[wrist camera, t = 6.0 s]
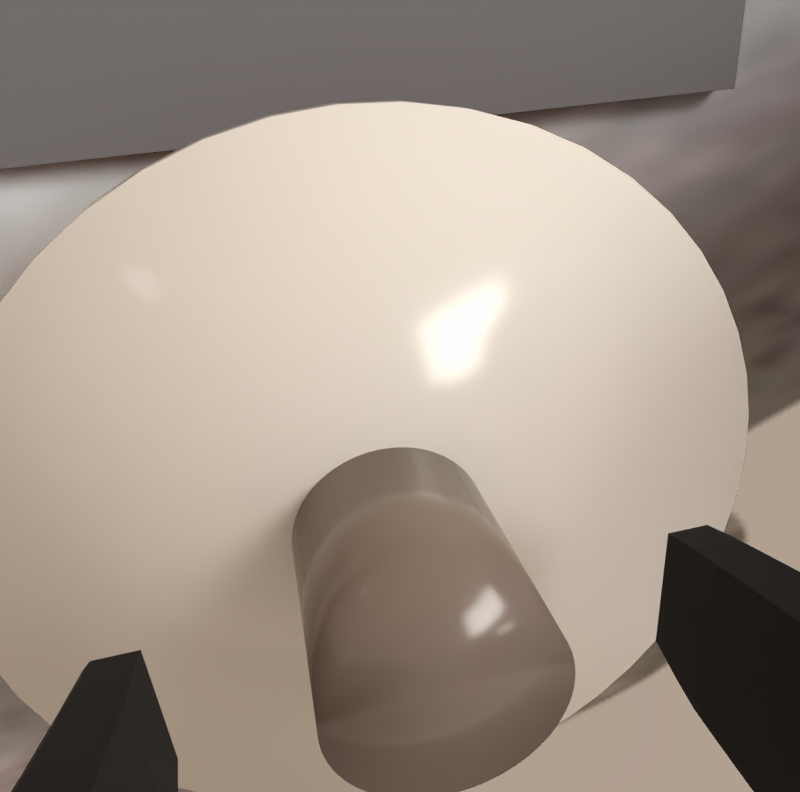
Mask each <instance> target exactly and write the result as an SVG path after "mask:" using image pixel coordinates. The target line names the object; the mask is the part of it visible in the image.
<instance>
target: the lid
mask: <svg viewBox="0 0 800 792" xmlns="http://www.w3.org/2000/svg"><path fill="white" fill-rule="evenodd" d="M748 420H749V408H748V387H747V372H746V367H745V362H744V357H743V352H742V347H741V342H740V337H739V332H738V329H737V326H736V324H735V321H734V318H733V316H732V313H731V310H730V307H729V305H728V302H727V299H726V296H725V294H724V291H723V289H722V287H721V285H720V284H719V282H718V280H717V278H716V276H715V275H714V273H713V271H712V269H711V268H710V266H709V264H708V262H707V260H706V259H705V257H704V255H703V253H702V251H701V250H700V249H699V247H698V246H697V245H696V244H695V242H694V241H693V240H692V239H691V237H690V236H689V235H688V234H687V232H686V231H685V230H684V229H683V227H682V226H681V225H680V224H679V222H678V221H677V220H676V219H675V217H674V216H673V215H672V214H671V212H670V211H669V210H667V209H666V208H665V207H664V206H663V205H662V204H661V203H660V202H659V201H657V200H656V199H655V198H654V197H653V196H652V195H651V194H650V193H648V192H647V191H646V190H645V189H644V188H643V187H642V186H641V185H640V184H638V183H637V182H636V181H635V180H634V179H633V178H632V177H630V176H629V175H627V174H625V173H624V172H622V171H621V170H619V169H618V168H616V167H614V166H613V165H611V164H610V163H608V162H607V161H605V160H604V159H602V158H600V157H599V156H597V155H596V154H594V153H593V152H591V151H589V150H588V149H586V148H584V147H582V146H580V145H577V144H575V143H573V142H570V141H568V140H566V139H563V138H561V137H559V136H557V135H554V134H552V133H550V132H547V131H545V130H543V129H540V128H538V127H536V126H534V125H530V124H527V123H523V122H519V121H515V120H511V119H507V118H504V117H500V116H496V115H492V114H488V113H484V112H481V111H477V110H473V109H468V108H463V107H458V106H448V105H439V104H430V103H420V102H411V101H401V100H386V101H361V102H336V103H328V104H323V105H317V106H312V107H307V108H301V109H296V110H290V111H285V112H280V113H274V114H269V115H265V116H262V117H259V118H256V119H254V120H251V121H248V122H245V123H242V124H239V125H236V126H233V127H230V128H227V129H224V130H221V131H218V132H215V133H212V134H209V135H206V136H203V137H202V138H200V139H198V140H196V141H194V142H192V143H190V144H188V145H186V146H184V147H182V148H180V149H178V150H176V151H174V152H172V153H170V154H168V155H166V156H164V157H162V158H160V159H158V160H156V161H154V162H152V163H150V164H148V165H146V166H144V167H143V168H141V169H140V170H139V171H137V172H136V173H134V174H133V175H131V176H130V177H129V178H127V179H126V180H124V181H123V182H121V183H120V184H119V185H117V186H116V187H114V188H113V189H112V190H110V191H109V192H107V193H106V194H104V195H103V196H102V197H100V198H99V199H97V200H96V201H94V202H93V203H92V204H90V205H89V206H88V207H87V208H86V209H85V210H84V211H83V212H82V213H81V214H80V215H79V216H78V217H77V218H76V219H74V220H73V221H72V222H71V223H70V224H69V225H68V226H67V227H66V228H65V229H64V230H63V231H62V232H61V233H60V234H59V235H58V236H57V237H56V238H55V239H54V240H52V241H51V242H50V243H49V244H48V245H47V246H46V247H45V248H44V249H43V250H42V251H41V252H40V253H39V254H38V255H37V256H36V257H35V258H34V259H33V260H32V262H31V263H30V264H29V266H28V267H27V268H26V270H25V271H24V272H23V274H22V275H21V276H20V277H19V279H18V280H17V281H16V283H15V284H14V285H13V287H12V288H11V289H10V290H9V292H8V293H7V294H6V296H5V297H4V298H3V300H2V301H1V302H0V676H1V677H2V678H3V680H4V681H5V682H6V683H7V684H8V686H9V687H10V688H11V689H12V690H13V691H14V693H15V694H16V695H17V696H18V697H19V698H20V699H21V700H22V701H23V702H24V703H25V704H26V705H28V706H29V707H30V708H31V709H32V710H33V711H34V712H36V713H37V714H38V715H39V716H40V717H41V718H42V719H44V720H45V721H46V722H47V723H48V724H49V725H50V726H51V725H52V723H53V721H54V719H55V718H56V716H57V714H58V712H59V711H60V709H61V707H62V706H63V704H64V702H65V700H66V699H67V697H68V695H69V693H70V692H71V690H72V688H73V686H74V685H75V683H76V681H77V679H78V678H79V676H80V674H81V672H82V671H83V669H84V668H85V667H86V665H87V664H88V663H89V662H90V661H92V660H97V659H101V658H106V657H111V656H115V655H120V654H124V653H129V652H133V651H138V650H141V652H142V655H143V658H144V661H145V664H146V667H147V670H148V673H149V675H150V678H151V681H152V684H153V687H154V690H155V693H156V696H157V699H158V702H159V705H160V708H161V711H162V714H163V717H164V719H165V722H166V725H167V728H168V731H169V734H170V737H171V740H172V743H173V746H174V749H175V752H176V755H177V758H178V788H181V789H186V790H190V791H194V792H459V791H463V790H466V789H469V788H472V787H475V786H477V785H479V784H482V783H484V782H487V781H489V780H491V779H493V778H495V777H496V776H499V775H500V774H502V773H504V772H506V771H507V770H509V769H510V768H512V767H514V766H515V765H517V764H518V763H519V762H521V761H522V760H524V759H525V758H526V757H528V756H529V755H530V754H531V753H532V752H533V751H535V750H536V749H537V748H538V747H539V746H540V745H541V744H542V743H543V742H544V741H545V740H546V739H547V738H548V736H549V735H550V734H551V733H552V731H553V730H554V729H555V728H556V726H557V725H558V723H560V722H562V721H563V720H565V719H567V718H568V717H570V716H571V715H572V714H574V713H575V712H576V711H578V710H579V709H580V708H582V707H583V706H584V705H586V704H587V703H588V702H590V701H591V700H592V699H594V698H595V697H596V696H598V695H599V694H600V693H602V692H603V691H604V690H605V689H606V688H607V687H608V686H610V685H611V684H612V683H613V682H614V681H615V680H616V679H617V678H619V677H620V676H621V675H622V674H623V673H624V672H625V671H627V670H628V669H629V668H630V667H631V666H632V665H633V664H634V663H635V662H636V661H637V660H638V659H639V658H640V656H641V655H642V654H643V653H644V652H645V651H646V650H647V649H648V648H649V647H650V646H651V645H652V644H653V643H654V642H655V641H656V634H657V625H658V617H659V608H660V599H661V591H662V582H663V574H664V565H665V556H666V548H667V539H668V533H672V532H677V531H681V530H686V529H691V528H695V527H700V526H704V525H709V526H711V527H713V528H715V529H717V530H719V531H721V532H724V530H725V527H726V524H727V521H728V519H729V516H730V513H731V510H732V507H733V504H734V502H735V499H736V496H737V491H738V487H739V482H740V478H741V473H742V469H743V464H744V460H745V453H746V442H747V431H748Z"/></svg>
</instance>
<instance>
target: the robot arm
mask: <svg viewBox="0 0 800 792" xmlns="http://www.w3.org/2000/svg"><path fill="white" fill-rule="evenodd" d="M656 642H657V643H658V645H659V647H660V649H661V651H662V653H663V655H664V656H665V658H666V660H667V662H668V664H669V666H670V668H671V669H672V671H673V673H674V675H675V677H676V679H677V680H678V682H679V684H680V685H681V687H682V689H683V691H684V692H685V694H686V696H687V698H688V699H689V701H690V703H691V704H692V706H693V708H694V709H695V711H696V712H697V713H698V715H699V716H700V718H701V719H702V721H703V722H704V723H705V725H706V726H707V728H708V729H709V731H710V732H711V733H712V735H713V736H714V737H715V739H716V740H717V742H718V743H719V744H720V746H721V747H722V749H723V750H724V751H725V753H726V754H727V755H728V757H729V758H730V760H731V761H732V763H733V764H734V765H735V767H736V768H737V769H738V771H739V772H740V773H741V775H742V776H743V777H744V779H745V780H746V782H747V783H748V784H749V786H750V787H751V788H752V790H753V791H754V792H800V572H799V571H797V570H795V569H793V568H791V567H789V566H787V565H785V564H784V563H782V562H780V561H778V560H776V559H774V558H772V557H770V556H768V555H767V554H764V553H763V552H761V551H759V550H757V549H755V548H753V547H751V546H749V545H747V544H745V543H743V542H742V541H740V540H738V539H736V538H734V537H732V536H730V535H728V534H726V533H724V532H721V531H719V530H717V529H715V528H713V527H711V526H709V525H704V526H700V527H695V528H691V529H686V530H681V531H677V532H672V533H668V539H667V548H666V556H665V565H664V574H663V582H662V591H661V599H660V608H659V617H658V625H657V634H656ZM11 792H178V758H177V755H176V752H175V749H174V746H173V743H172V740H171V737H170V734H169V731H168V728H167V725H166V722H165V719H164V717H163V714H162V711H161V708H160V705H159V702H158V699H157V696H156V693H155V690H154V687H153V684H152V681H151V678H150V675H149V673H148V670H147V667H146V664H145V661H144V658H143V655H142V652H141V650H138V651H133V652H129V653H124V654H120V655H115V656H111V657H106V658H101V659H97V660H92V661H90V662H89V663H88V664H87V665H86V667H85V668H84V669H83V671H82V672H81V674H80V676H79V678H78V679H77V681H76V683H75V685H74V686H73V688H72V690H71V692H70V693H69V695H68V697H67V699H66V700H65V702H64V704H63V706H62V707H61V709H60V711H59V712H58V714H57V716H56V718H55V719H54V721H53V723H52V725H51V726H50V728H49V730H48V731H47V733H46V735H45V737H44V738H43V740H42V742H41V743H40V745H39V747H38V748H37V750H36V752H35V753H34V755H33V757H32V759H31V760H30V762H29V764H28V765H27V767H26V769H25V770H24V772H23V774H22V775H21V777H20V779H19V780H18V782H17V783H16V785H15V787H14V788H13V790H12V791H11Z"/></svg>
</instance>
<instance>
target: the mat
mask: <svg viewBox="0 0 800 792" xmlns="http://www.w3.org/2000/svg"><path fill="white" fill-rule="evenodd" d="M744 8H745V0H0V169H4V168H13V167H22V166H32V165H41V164H50V163H59V162H68V161H77V160H86V159H95V158H105V157H114V156H123V155H132V154H141V153H150V152H159V151H168V150H178V149H180V148H182V147H184V146H186V145H188V144H190V143H192V142H194V141H196V140H198V139H200V138H202V137H203V136H206V135H209V134H212V133H215V132H218V131H221V130H224V129H227V128H230V127H233V126H236V125H239V124H242V123H245V122H248V121H251V120H254V119H256V118H259V117H262V116H265V115H269V114H274V113H280V112H285V111H290V110H296V109H301V108H307V107H312V106H317V105H323V104H328V103H336V102H361V101H386V100H401V101H411V102H420V103H430V104H439V105H448V106H458V107H463V108H468V109H473V110H477V111H481V112H484V113H488V114H492V115H497V114H506V113H515V112H524V111H534V110H543V109H552V108H561V107H570V106H579V105H588V104H597V103H607V102H616V101H625V100H634V99H643V98H652V97H661V96H670V95H680V94H689V93H698V92H707V91H716V90H725V89H734V88H735V80H736V72H737V64H738V56H739V48H740V40H741V32H742V24H743V16H744Z"/></svg>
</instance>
